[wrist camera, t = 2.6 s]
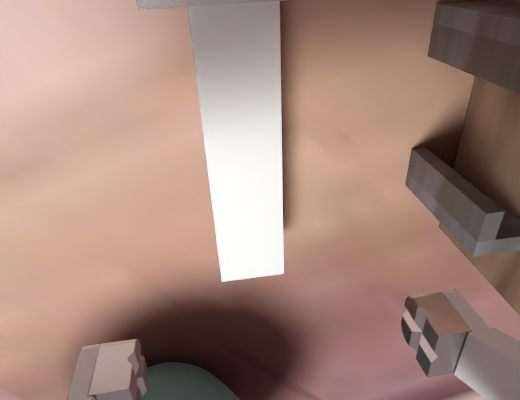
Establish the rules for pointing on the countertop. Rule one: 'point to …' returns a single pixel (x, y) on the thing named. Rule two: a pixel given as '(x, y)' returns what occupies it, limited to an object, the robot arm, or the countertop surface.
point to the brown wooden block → (480, 142)
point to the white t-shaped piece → (240, 127)
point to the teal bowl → (184, 383)
